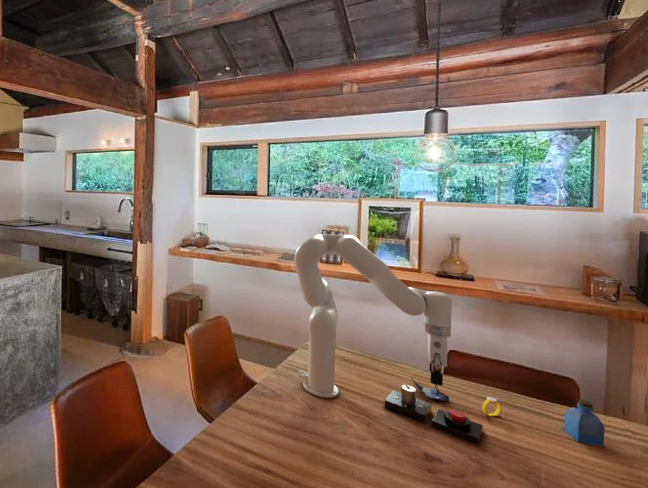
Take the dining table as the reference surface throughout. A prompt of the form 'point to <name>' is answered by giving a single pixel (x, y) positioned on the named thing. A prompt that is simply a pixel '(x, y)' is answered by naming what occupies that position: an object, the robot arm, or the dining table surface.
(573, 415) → the perfume bottle
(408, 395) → the heat knob
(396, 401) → the control panel
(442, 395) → the snack package
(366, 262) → the robot arm
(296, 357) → the dining table surface
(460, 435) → the button block
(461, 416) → the button
